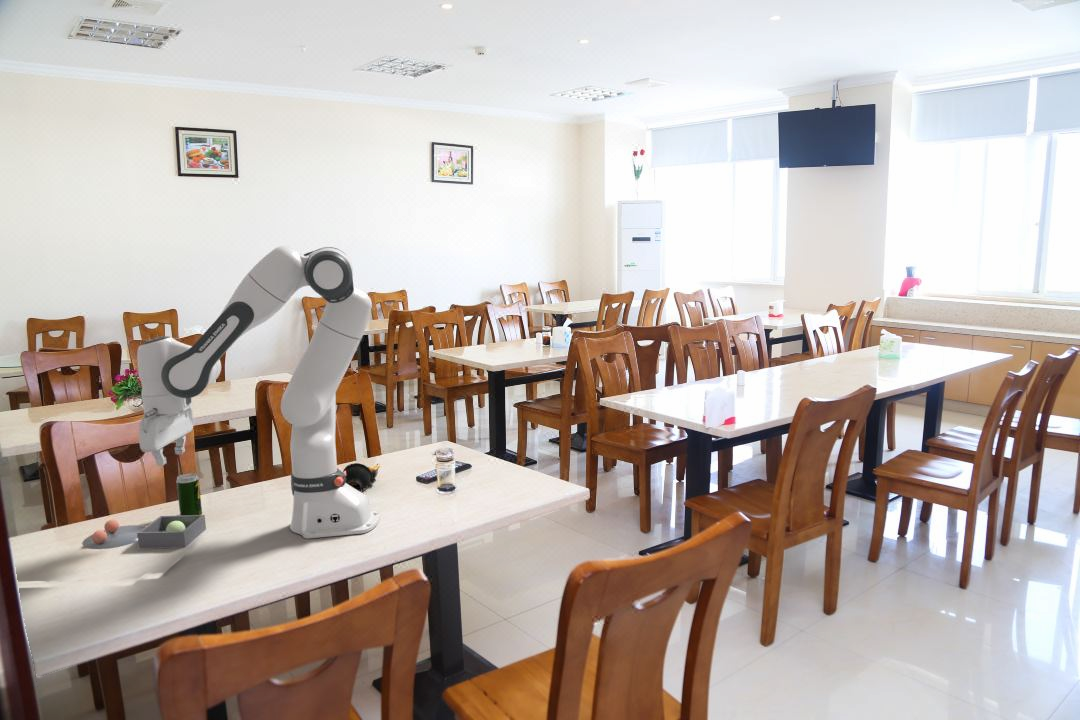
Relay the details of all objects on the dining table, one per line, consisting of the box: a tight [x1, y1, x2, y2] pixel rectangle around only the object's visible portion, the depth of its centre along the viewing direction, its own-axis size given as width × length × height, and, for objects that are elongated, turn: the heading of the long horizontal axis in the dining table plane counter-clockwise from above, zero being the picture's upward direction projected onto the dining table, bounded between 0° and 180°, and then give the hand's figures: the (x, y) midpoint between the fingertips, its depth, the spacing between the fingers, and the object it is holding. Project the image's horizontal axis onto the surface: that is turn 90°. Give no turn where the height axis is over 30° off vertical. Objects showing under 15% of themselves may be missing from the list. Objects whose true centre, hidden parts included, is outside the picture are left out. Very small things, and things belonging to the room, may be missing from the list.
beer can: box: [175, 473, 203, 516], centre depth 201 cm, size 5×5×12 cm
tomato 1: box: [91, 529, 107, 544], centre depth 184 cm, size 3×3×3 cm
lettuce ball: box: [165, 521, 185, 532], centre depth 188 cm, size 4×4×4 cm
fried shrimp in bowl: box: [342, 462, 381, 492], centre depth 226 cm, size 9×11×18 cm
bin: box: [137, 514, 207, 549], centre depth 186 cm, size 11×11×5 cm
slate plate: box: [82, 524, 147, 550], centre depth 189 cm, size 15×15×1 cm
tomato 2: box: [103, 519, 120, 533], centre depth 191 cm, size 3×3×3 cm
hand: (171, 459), depth 185 cm, fingers open, 8 cm apart
